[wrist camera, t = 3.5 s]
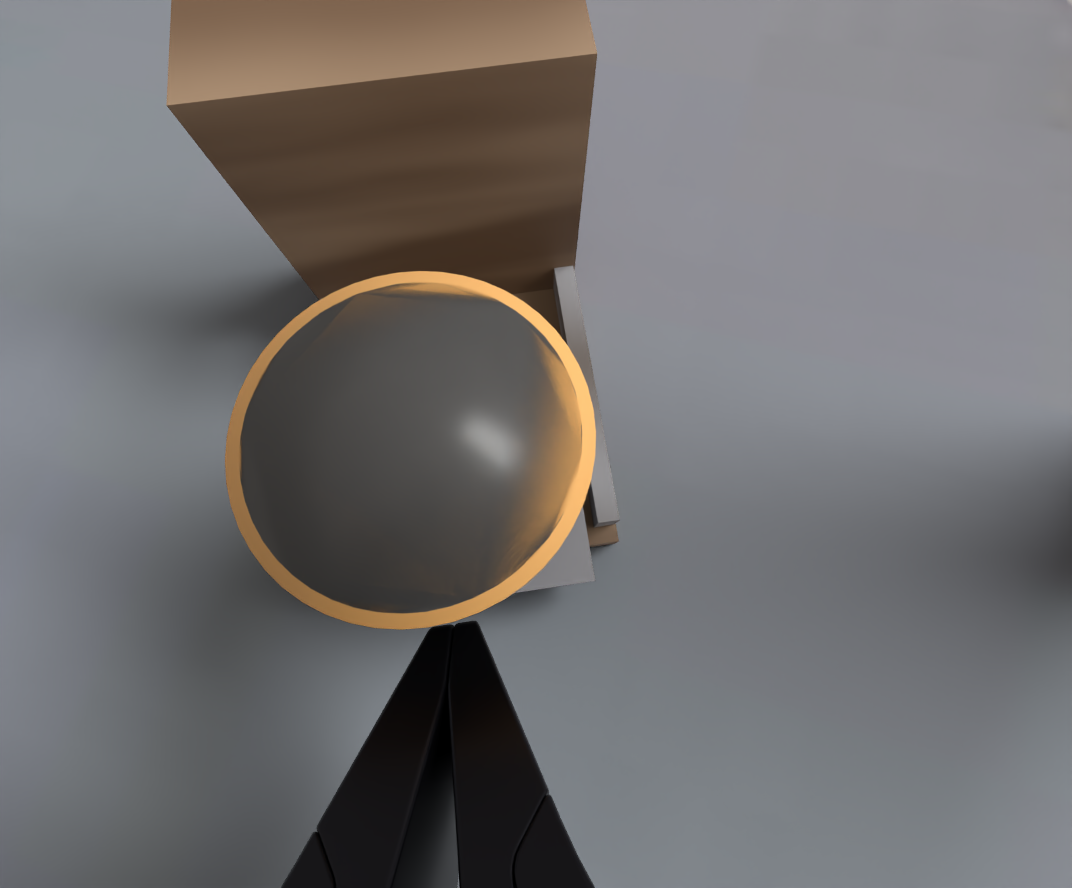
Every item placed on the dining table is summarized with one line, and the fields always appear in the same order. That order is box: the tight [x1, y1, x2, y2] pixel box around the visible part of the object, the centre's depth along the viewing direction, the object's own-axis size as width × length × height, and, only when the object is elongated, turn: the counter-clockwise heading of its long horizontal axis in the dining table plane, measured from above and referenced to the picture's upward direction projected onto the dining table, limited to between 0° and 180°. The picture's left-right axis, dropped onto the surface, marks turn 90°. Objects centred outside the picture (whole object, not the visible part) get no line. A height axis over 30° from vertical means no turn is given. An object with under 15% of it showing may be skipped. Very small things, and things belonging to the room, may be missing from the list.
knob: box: [225, 271, 596, 630], centre depth 12 cm, size 5×6×8 cm
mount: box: [167, 0, 620, 547], centre depth 13 cm, size 12×8×9 cm
